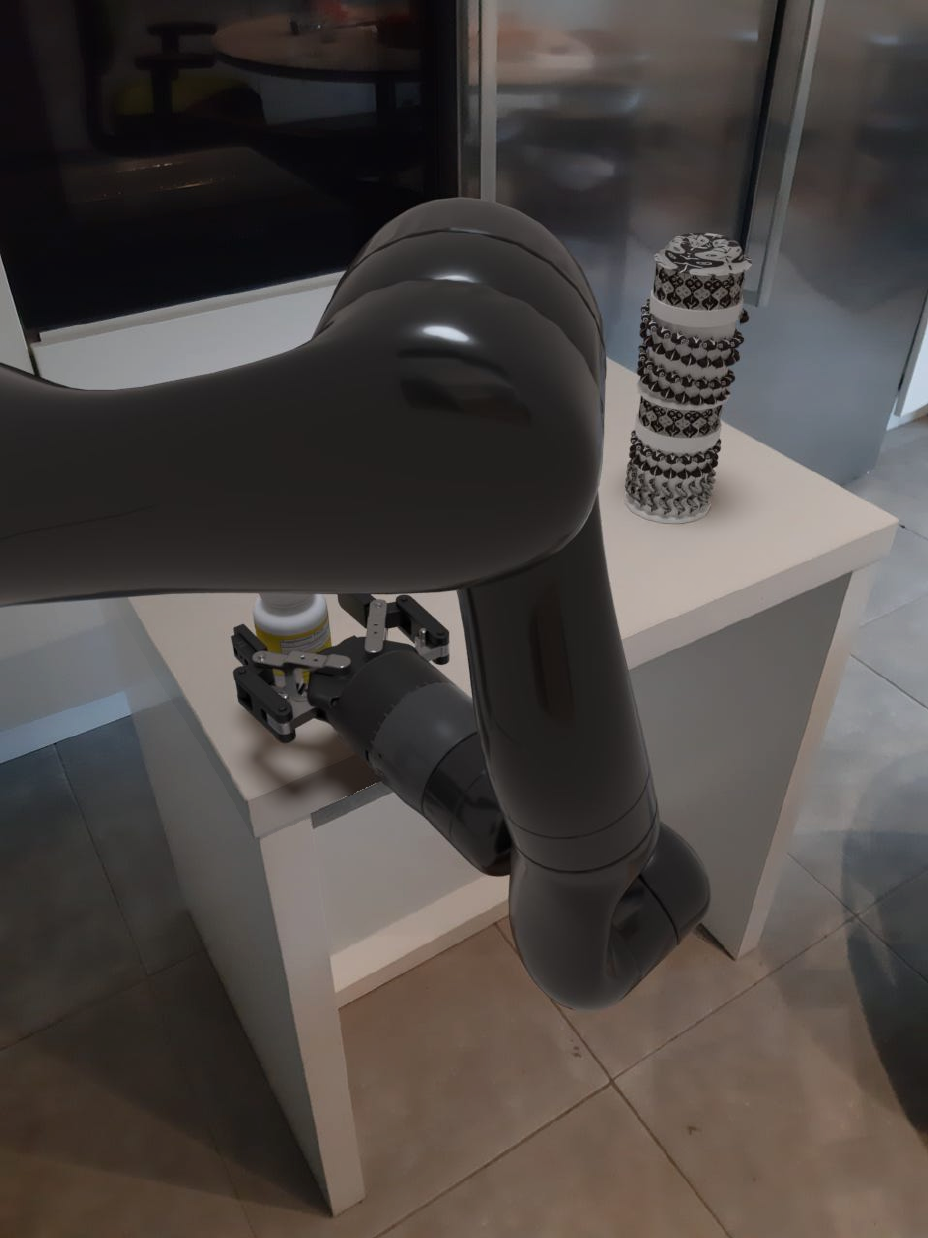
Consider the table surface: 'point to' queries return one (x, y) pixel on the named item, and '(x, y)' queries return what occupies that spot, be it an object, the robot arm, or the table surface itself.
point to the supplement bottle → (292, 624)
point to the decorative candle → (685, 376)
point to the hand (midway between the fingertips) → (291, 612)
